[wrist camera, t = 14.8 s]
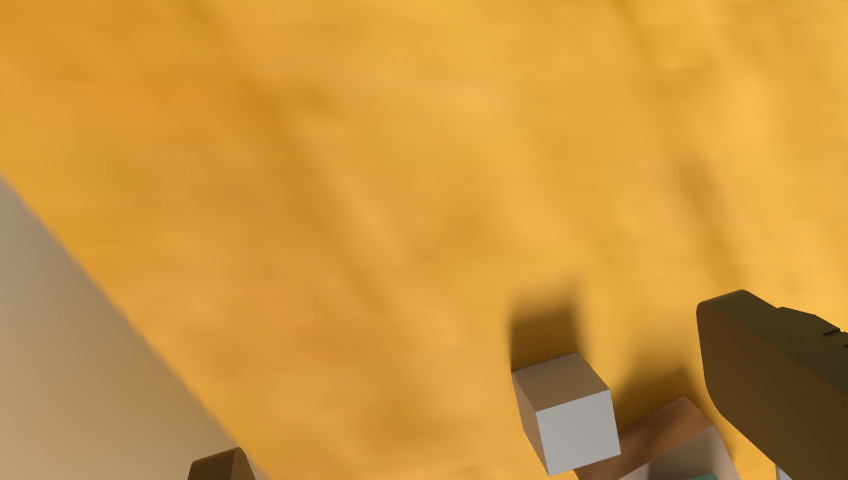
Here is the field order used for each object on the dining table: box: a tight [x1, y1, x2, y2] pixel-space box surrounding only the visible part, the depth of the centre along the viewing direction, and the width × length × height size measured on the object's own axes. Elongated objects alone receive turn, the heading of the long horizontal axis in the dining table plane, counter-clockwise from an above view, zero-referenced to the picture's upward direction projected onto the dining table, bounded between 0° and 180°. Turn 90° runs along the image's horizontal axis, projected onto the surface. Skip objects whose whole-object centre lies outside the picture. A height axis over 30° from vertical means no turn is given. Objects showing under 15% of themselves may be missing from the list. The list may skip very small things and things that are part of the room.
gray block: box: [511, 352, 621, 477], centre depth 42 cm, size 4×4×5 cm
